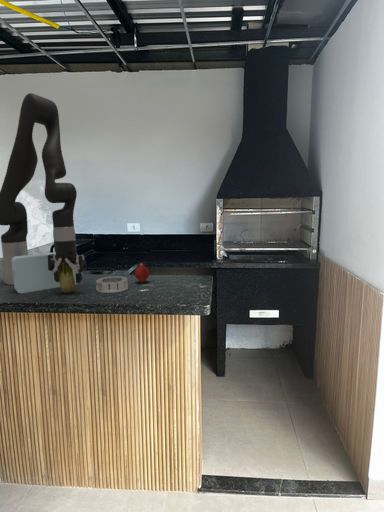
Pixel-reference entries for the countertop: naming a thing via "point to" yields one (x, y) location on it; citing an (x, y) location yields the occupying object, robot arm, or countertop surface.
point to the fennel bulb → (66, 279)
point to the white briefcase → (34, 273)
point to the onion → (141, 273)
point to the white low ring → (112, 284)
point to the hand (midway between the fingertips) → (68, 282)
